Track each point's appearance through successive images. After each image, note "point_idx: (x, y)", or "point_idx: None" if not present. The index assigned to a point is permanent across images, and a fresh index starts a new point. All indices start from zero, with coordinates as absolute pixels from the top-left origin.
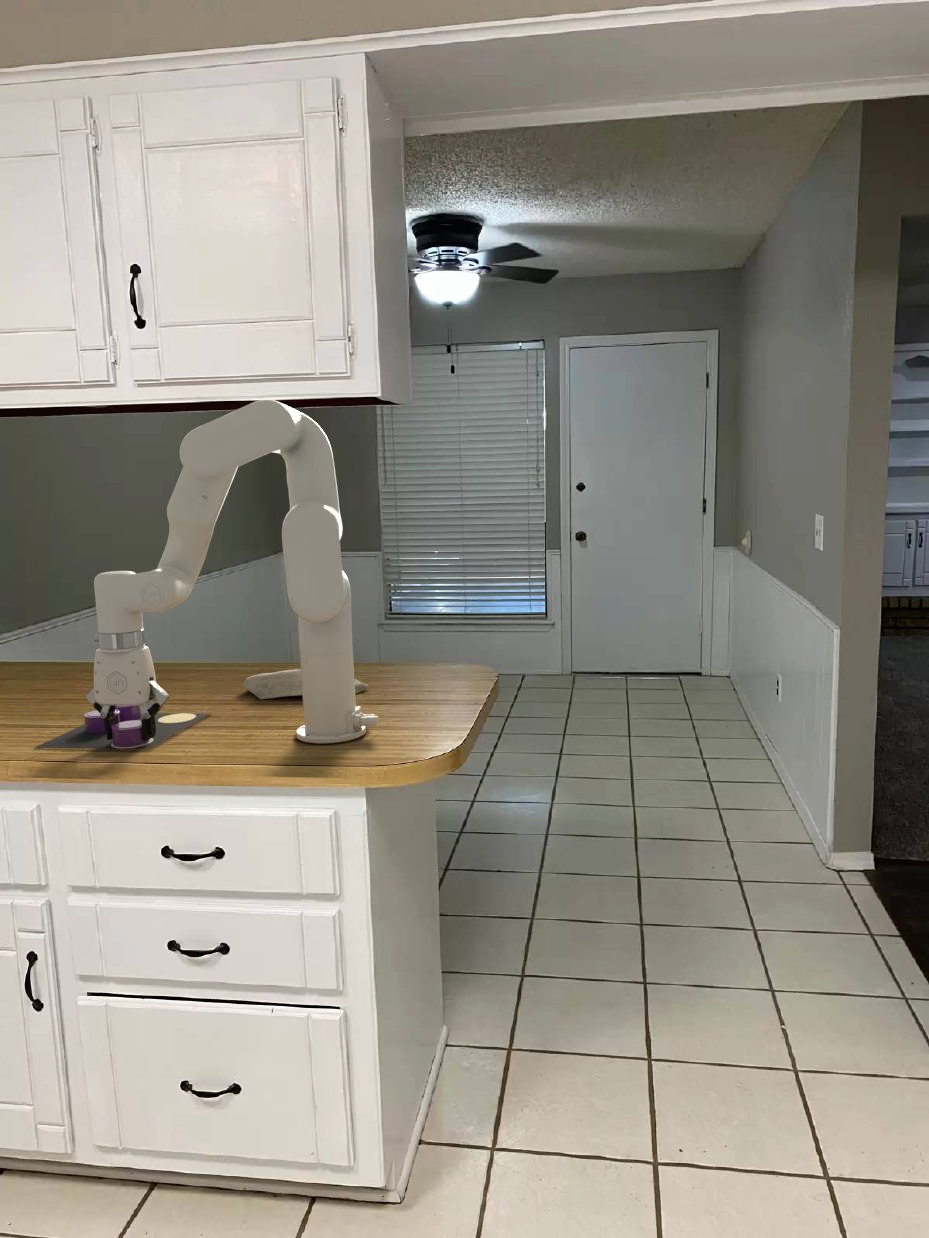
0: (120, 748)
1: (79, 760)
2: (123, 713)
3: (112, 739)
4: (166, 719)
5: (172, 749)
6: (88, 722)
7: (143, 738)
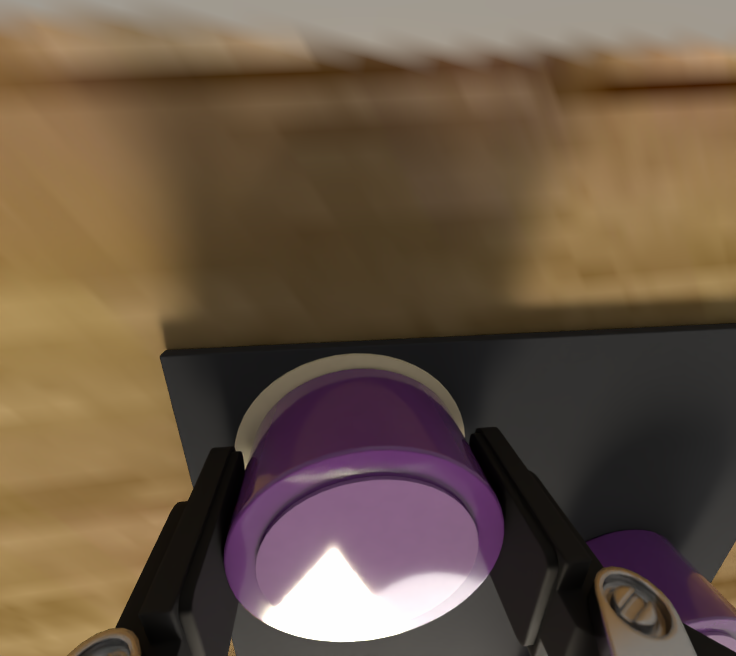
0: (357, 351)
1: (532, 117)
2: None
3: (449, 415)
4: None
5: (21, 406)
6: (696, 585)
7: (227, 451)
